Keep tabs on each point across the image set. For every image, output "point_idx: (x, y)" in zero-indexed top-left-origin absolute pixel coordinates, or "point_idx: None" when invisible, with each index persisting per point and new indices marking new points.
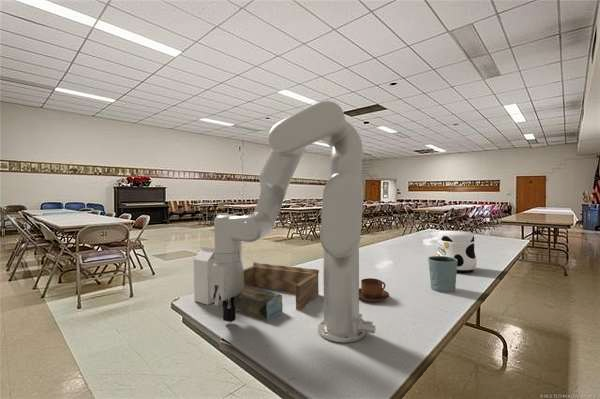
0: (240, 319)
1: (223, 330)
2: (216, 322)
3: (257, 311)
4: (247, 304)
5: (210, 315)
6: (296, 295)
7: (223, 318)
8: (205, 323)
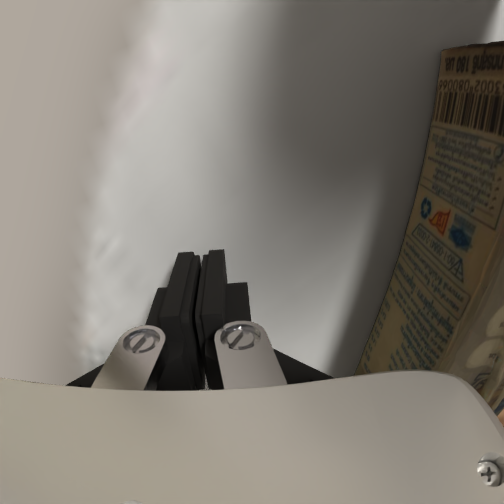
0: (301, 289)
1: (123, 300)
2: (175, 172)
3: (377, 368)
4: (415, 320)
5: (254, 26)
6: None
7: (176, 260)
8: (119, 111)
